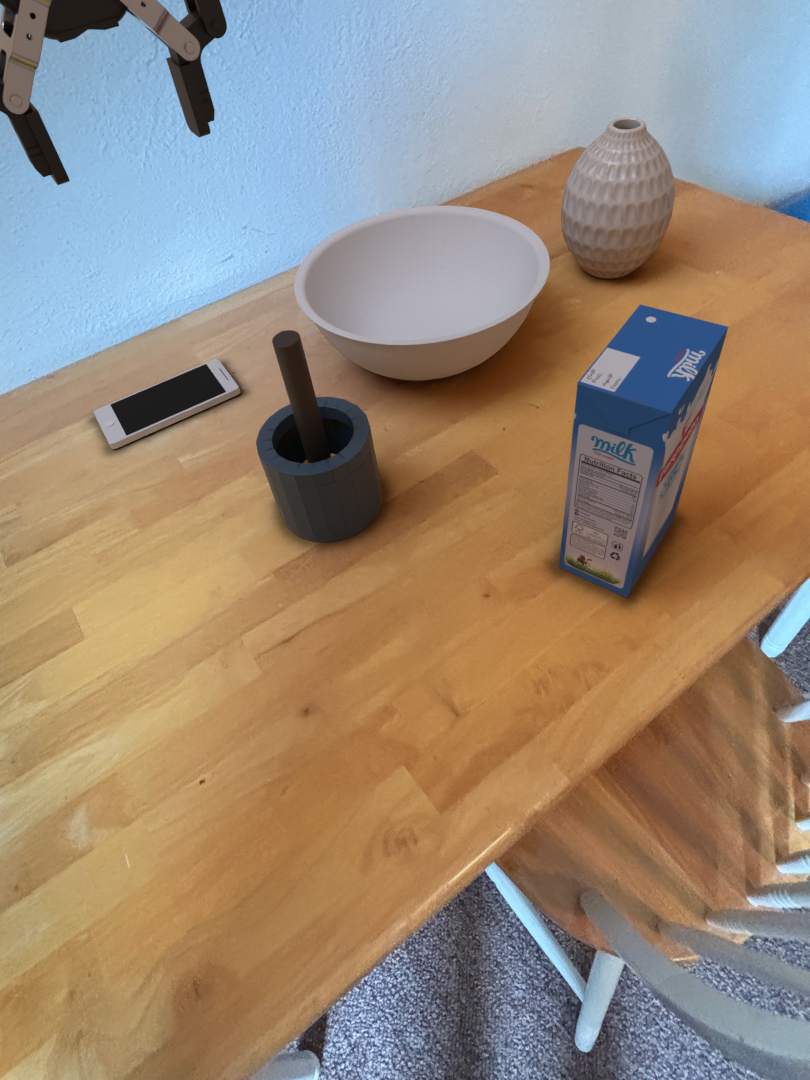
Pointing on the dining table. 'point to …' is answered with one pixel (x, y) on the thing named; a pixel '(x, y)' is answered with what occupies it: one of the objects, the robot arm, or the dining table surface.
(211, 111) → the robot arm
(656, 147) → the vase
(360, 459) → the jar
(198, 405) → the smartphone
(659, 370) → the milk carton
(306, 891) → the dining table surface
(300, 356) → the plunger
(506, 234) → the bowl
